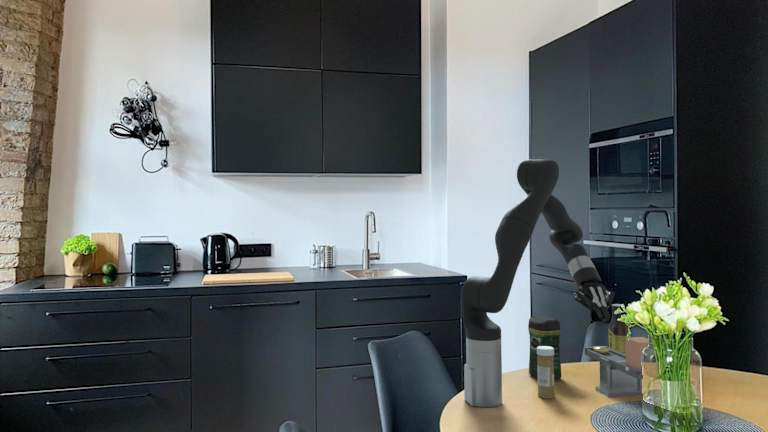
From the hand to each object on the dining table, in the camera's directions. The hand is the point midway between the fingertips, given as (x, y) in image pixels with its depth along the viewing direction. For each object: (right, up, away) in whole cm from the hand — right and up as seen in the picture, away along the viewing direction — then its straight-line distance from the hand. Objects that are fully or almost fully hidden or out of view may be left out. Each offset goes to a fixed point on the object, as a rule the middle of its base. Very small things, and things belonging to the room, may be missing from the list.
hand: (606, 319), depth 164 cm
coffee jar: (-16, -19, +8) cm, 26 cm away
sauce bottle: (+13, -19, +21) cm, 31 cm away
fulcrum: (+1, -19, -7) cm, 20 cm away
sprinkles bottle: (-20, -19, -10) cm, 30 cm away
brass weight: (0, -10, +3) cm, 11 cm away
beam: (+1, -11, -7) cm, 13 cm away
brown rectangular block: (+3, -10, -16) cm, 19 cm away
